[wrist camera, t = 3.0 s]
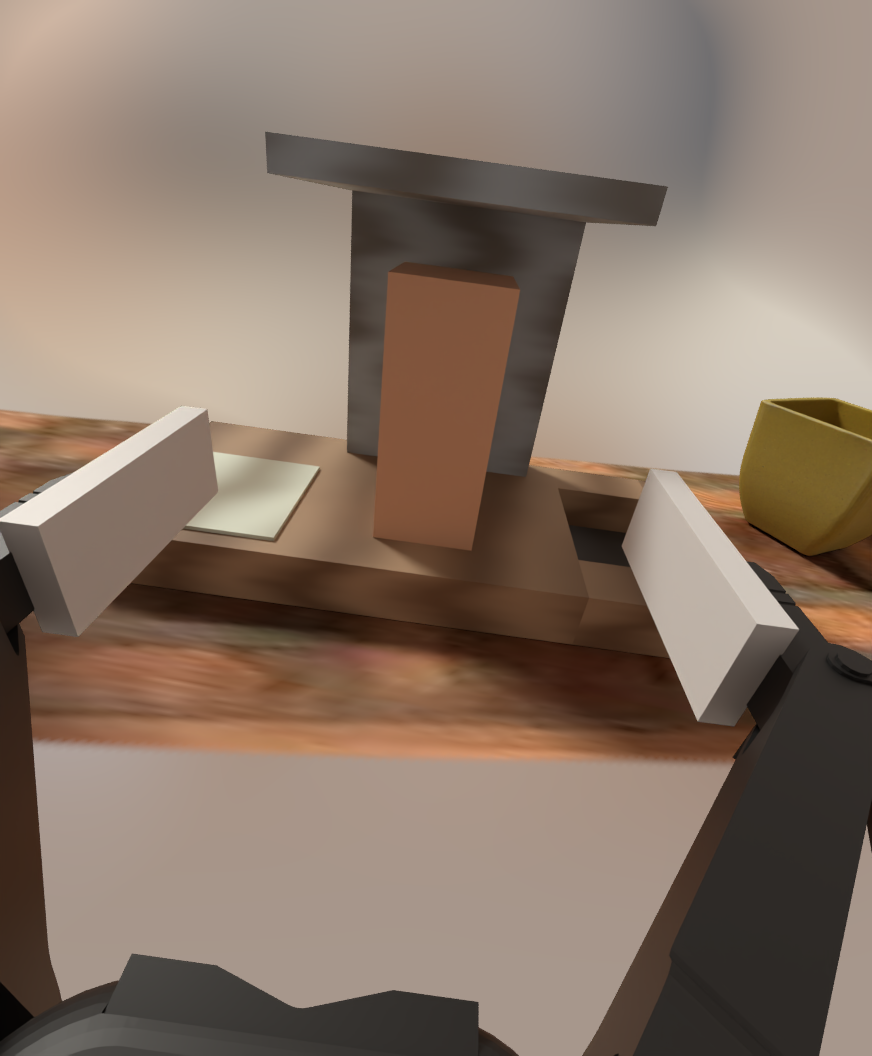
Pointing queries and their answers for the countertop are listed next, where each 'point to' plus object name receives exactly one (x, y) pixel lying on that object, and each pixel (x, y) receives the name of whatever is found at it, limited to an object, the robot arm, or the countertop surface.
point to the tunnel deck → (424, 573)
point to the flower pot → (809, 473)
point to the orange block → (439, 399)
